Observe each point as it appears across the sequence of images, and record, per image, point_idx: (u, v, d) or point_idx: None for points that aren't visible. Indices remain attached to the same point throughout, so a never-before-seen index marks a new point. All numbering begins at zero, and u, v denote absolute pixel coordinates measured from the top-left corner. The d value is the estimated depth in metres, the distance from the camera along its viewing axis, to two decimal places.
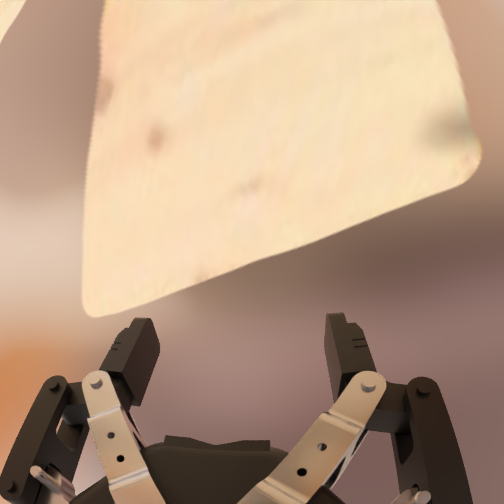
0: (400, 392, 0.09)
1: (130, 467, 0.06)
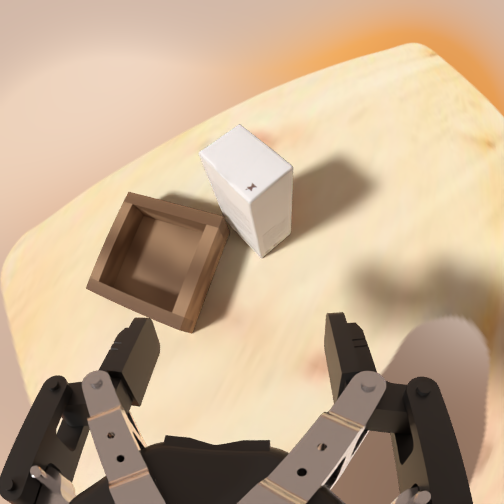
0: (400, 392, 0.09)
1: (130, 467, 0.06)
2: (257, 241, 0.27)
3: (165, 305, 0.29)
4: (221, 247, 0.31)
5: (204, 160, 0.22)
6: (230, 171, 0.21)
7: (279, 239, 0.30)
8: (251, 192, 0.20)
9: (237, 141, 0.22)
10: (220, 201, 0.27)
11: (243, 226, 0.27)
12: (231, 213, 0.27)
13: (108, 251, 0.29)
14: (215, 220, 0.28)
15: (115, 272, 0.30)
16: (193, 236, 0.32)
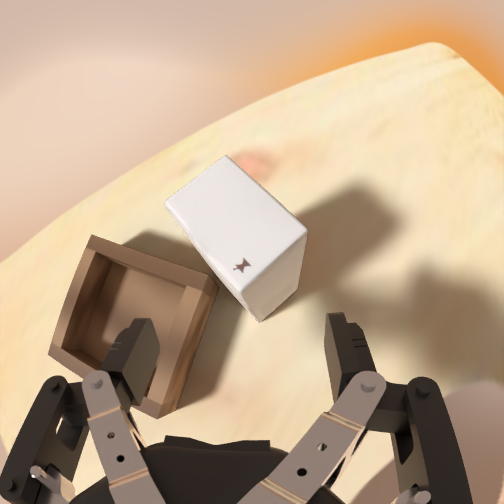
0: (400, 392, 0.09)
1: (130, 467, 0.06)
2: (253, 314, 0.19)
3: None
4: (208, 308, 0.24)
5: (172, 215, 0.14)
6: (211, 237, 0.14)
7: (282, 300, 0.23)
8: (242, 275, 0.13)
9: (222, 184, 0.14)
10: (203, 257, 0.20)
11: None
12: (218, 275, 0.20)
13: (70, 311, 0.21)
14: (198, 280, 0.21)
15: (81, 333, 0.23)
16: (172, 292, 0.24)
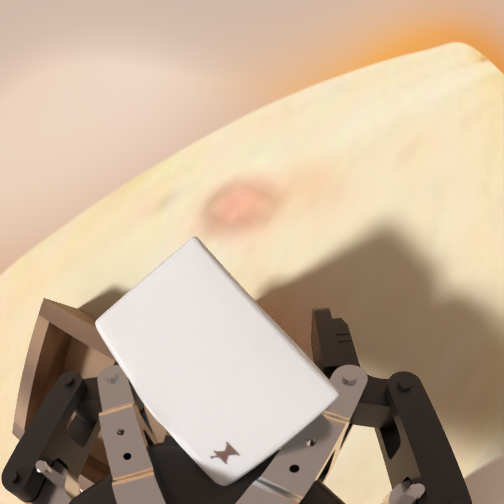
0: (382, 386, 0.09)
1: (136, 465, 0.06)
2: None
3: None
4: None
5: None
6: (170, 401, 0.07)
7: None
8: (226, 467, 0.06)
9: (186, 299, 0.08)
10: None
11: None
12: None
13: (28, 391, 0.15)
14: None
15: None
16: None
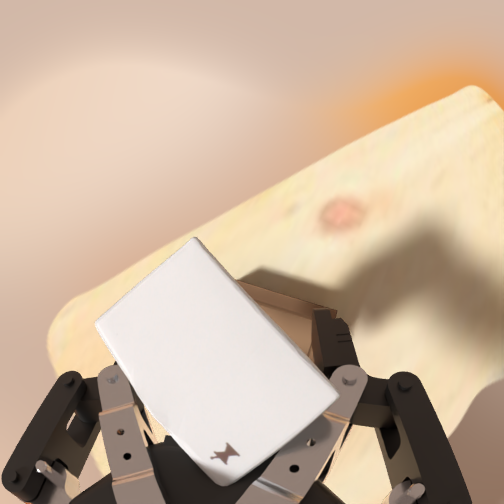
0: (382, 386, 0.09)
1: (136, 465, 0.06)
2: None
3: None
4: None
5: None
6: (170, 402, 0.07)
7: None
8: (226, 467, 0.06)
9: (186, 299, 0.08)
10: None
11: None
12: None
13: None
14: None
15: None
16: (295, 322, 0.30)
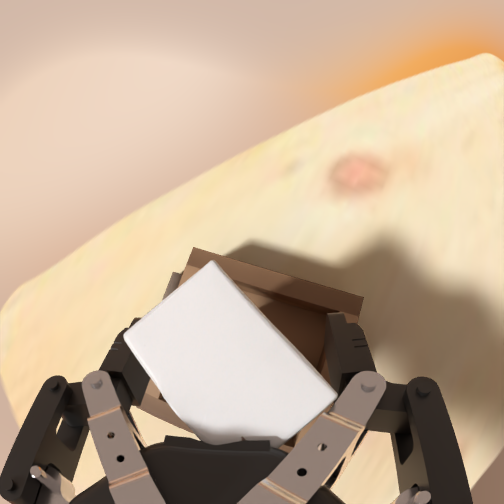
0: (400, 392, 0.09)
1: (130, 466, 0.06)
2: None
3: None
4: None
5: None
6: (193, 403, 0.08)
7: None
8: None
9: (206, 315, 0.09)
10: None
11: None
12: None
13: None
14: (353, 304, 0.18)
15: None
16: (300, 317, 0.21)
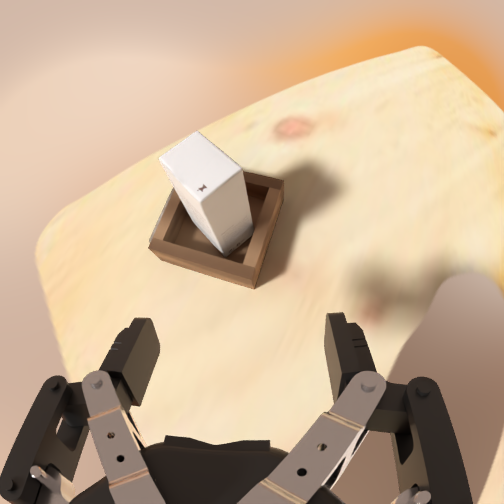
0: (400, 392, 0.09)
1: (130, 467, 0.06)
2: (217, 240, 0.28)
3: None
4: (278, 210, 0.34)
5: (163, 165, 0.23)
6: (185, 174, 0.22)
7: (242, 239, 0.32)
8: (202, 193, 0.22)
9: (193, 146, 0.23)
10: (184, 203, 0.29)
11: (204, 226, 0.28)
12: (193, 214, 0.28)
13: (172, 212, 0.32)
14: (277, 184, 0.32)
15: (175, 235, 0.33)
16: (251, 201, 0.35)
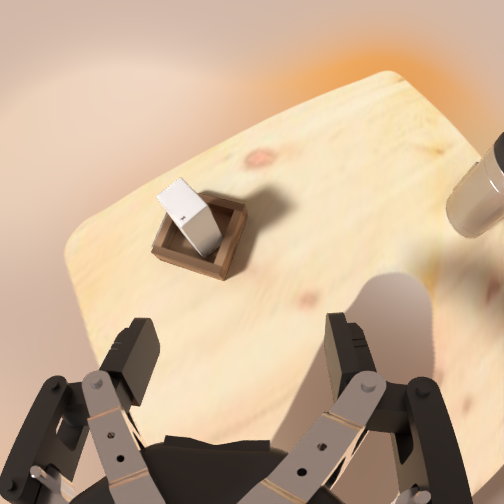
0: (400, 392, 0.09)
1: (130, 466, 0.06)
2: (196, 248, 0.42)
3: None
4: (242, 225, 0.48)
5: (159, 201, 0.37)
6: (172, 208, 0.36)
7: (215, 246, 0.46)
8: (182, 221, 0.35)
9: (178, 189, 0.37)
10: None
11: None
12: (181, 230, 0.42)
13: (167, 227, 0.45)
14: (240, 207, 0.45)
15: (170, 242, 0.47)
16: (223, 218, 0.48)
